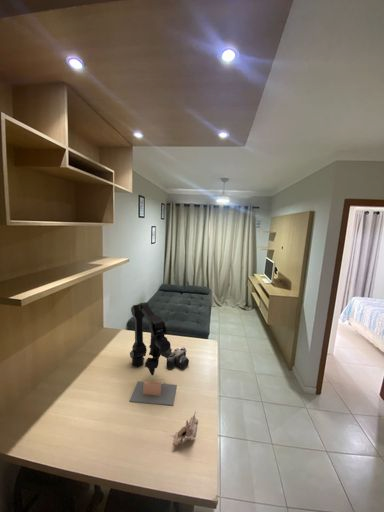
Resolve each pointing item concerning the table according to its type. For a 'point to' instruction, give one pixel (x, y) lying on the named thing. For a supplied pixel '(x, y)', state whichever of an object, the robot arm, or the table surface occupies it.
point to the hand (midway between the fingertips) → (154, 369)
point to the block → (152, 388)
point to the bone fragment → (186, 431)
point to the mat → (163, 399)
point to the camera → (177, 359)
